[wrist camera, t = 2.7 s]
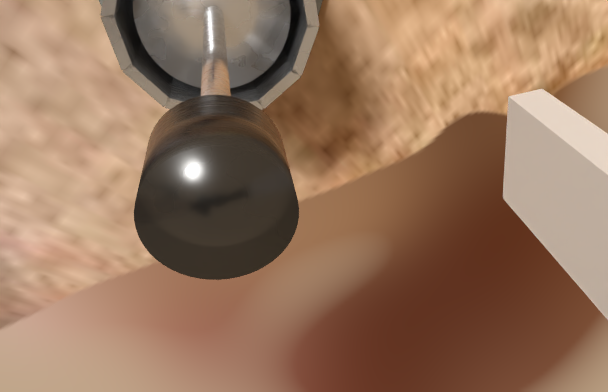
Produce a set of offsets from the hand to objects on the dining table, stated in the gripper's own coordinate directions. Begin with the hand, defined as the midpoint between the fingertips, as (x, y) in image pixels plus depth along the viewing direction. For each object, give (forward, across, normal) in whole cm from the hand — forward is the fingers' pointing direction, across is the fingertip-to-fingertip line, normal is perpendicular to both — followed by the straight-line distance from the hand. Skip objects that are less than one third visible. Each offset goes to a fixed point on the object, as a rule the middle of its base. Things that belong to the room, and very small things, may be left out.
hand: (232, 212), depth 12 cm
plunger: (+19, 0, 0) cm, 19 cm away
